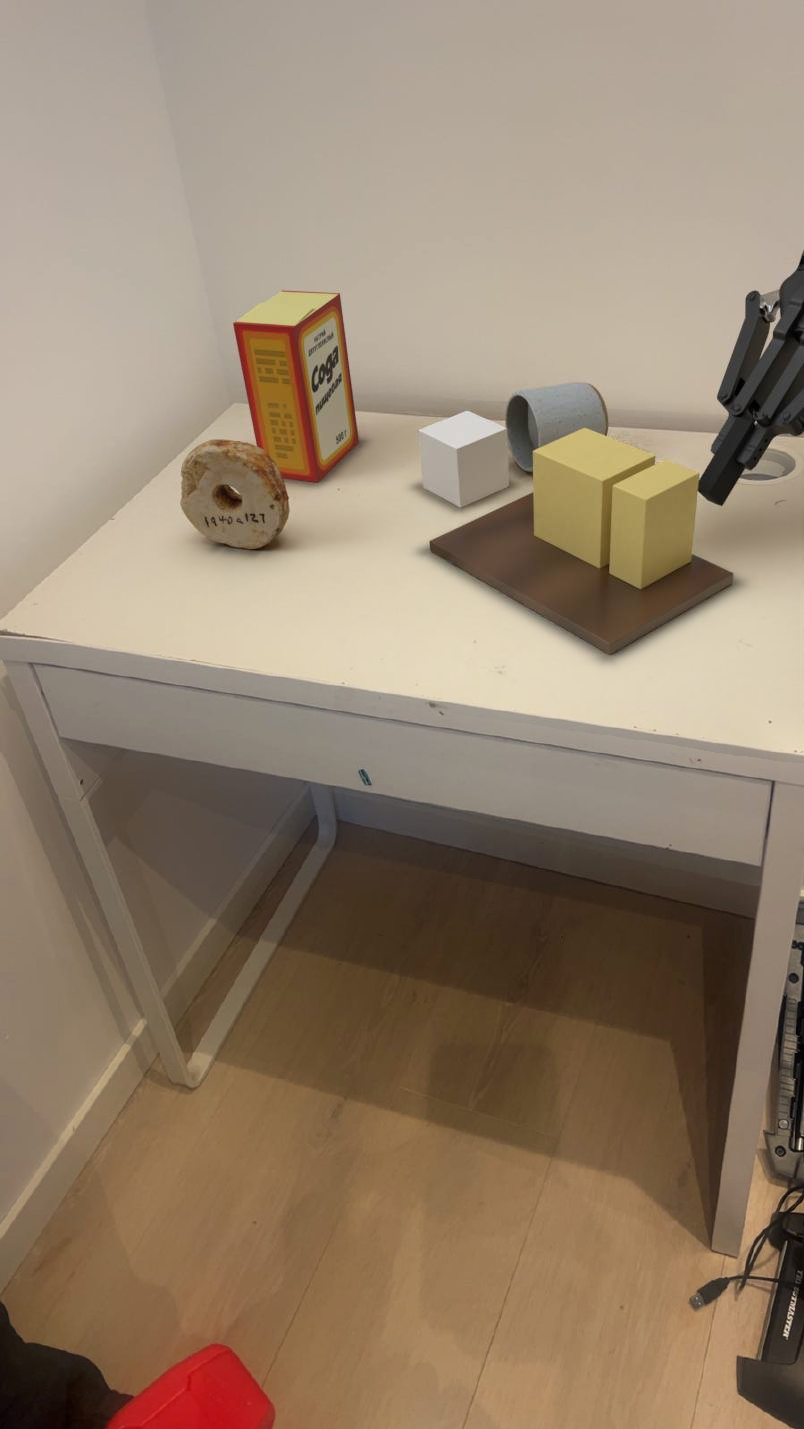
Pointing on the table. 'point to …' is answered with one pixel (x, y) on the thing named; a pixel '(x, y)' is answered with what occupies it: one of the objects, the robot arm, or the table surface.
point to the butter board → (572, 579)
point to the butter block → (581, 491)
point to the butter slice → (653, 523)
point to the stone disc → (234, 493)
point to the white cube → (464, 458)
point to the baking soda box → (298, 381)
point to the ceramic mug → (551, 417)
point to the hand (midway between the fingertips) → (708, 497)
